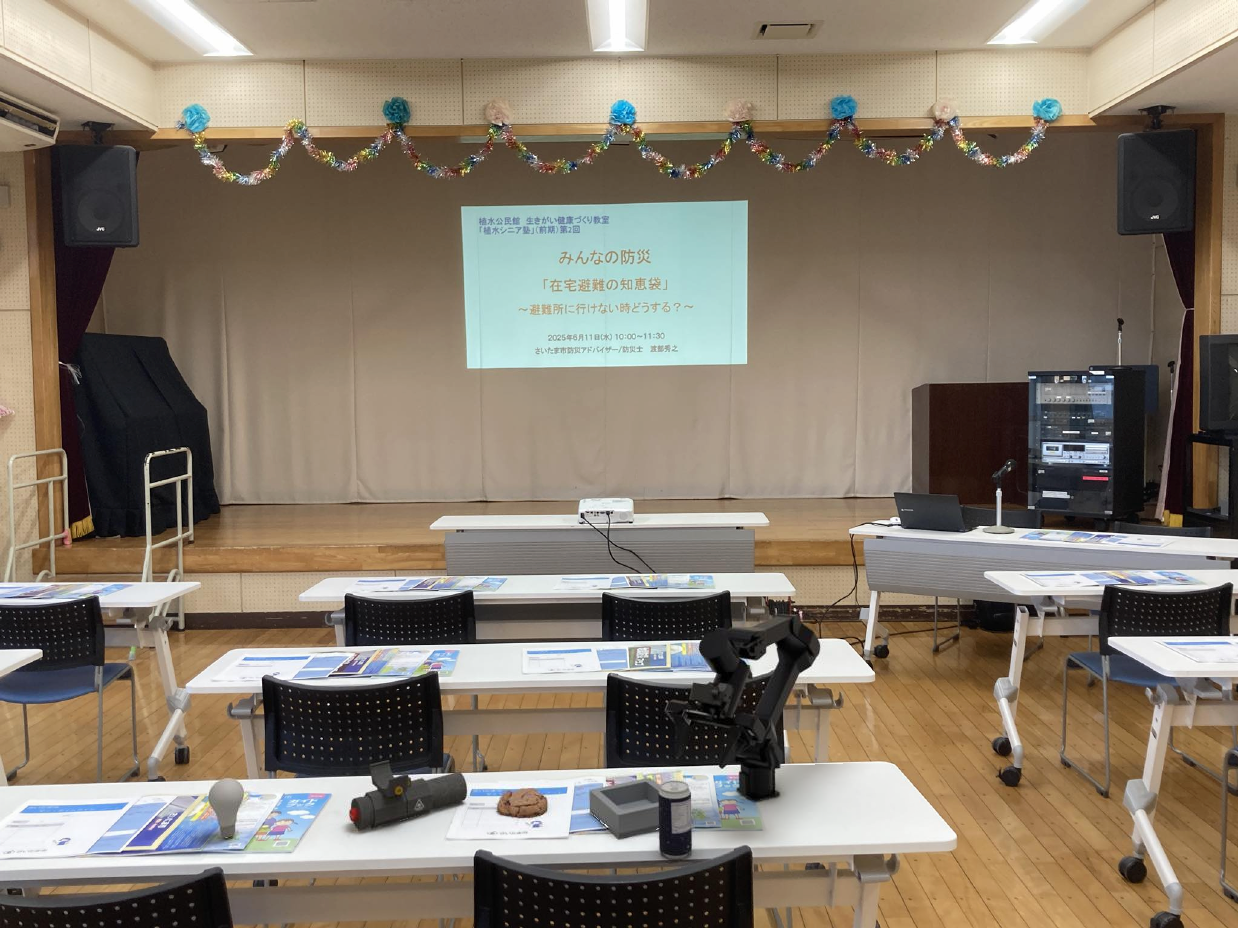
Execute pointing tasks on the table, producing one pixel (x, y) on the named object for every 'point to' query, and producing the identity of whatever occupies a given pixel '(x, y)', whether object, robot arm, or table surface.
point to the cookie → (522, 803)
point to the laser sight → (403, 797)
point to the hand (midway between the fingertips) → (698, 762)
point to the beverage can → (675, 819)
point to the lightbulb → (226, 803)
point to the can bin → (627, 807)
